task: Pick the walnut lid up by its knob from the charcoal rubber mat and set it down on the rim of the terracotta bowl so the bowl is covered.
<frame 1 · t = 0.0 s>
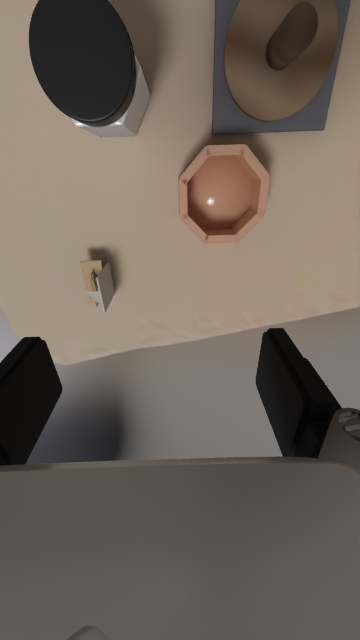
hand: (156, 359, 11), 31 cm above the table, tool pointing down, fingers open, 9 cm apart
architectural model: (107, 277, 43), on the table
bowl: (217, 194, 36), on the table
jar: (113, 97, 31), on the table
lid: (277, 54, 28), point 1 cm above the table, touching mat
mat: (275, 56, 29), on the table
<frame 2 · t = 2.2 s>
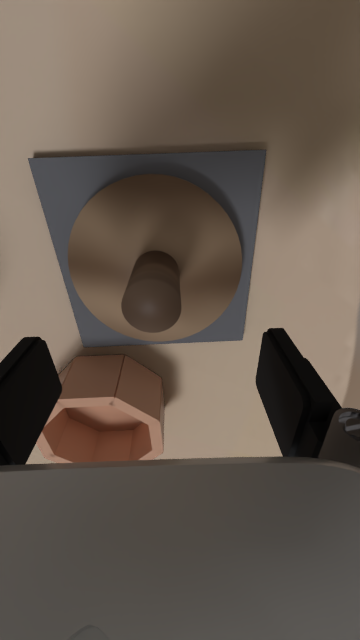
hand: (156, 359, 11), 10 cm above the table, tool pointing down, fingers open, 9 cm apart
bowl: (110, 395, 26), on the table
lid: (157, 267, 19), point 1 cm above the table, touching mat
mat: (157, 265, 19), on the table
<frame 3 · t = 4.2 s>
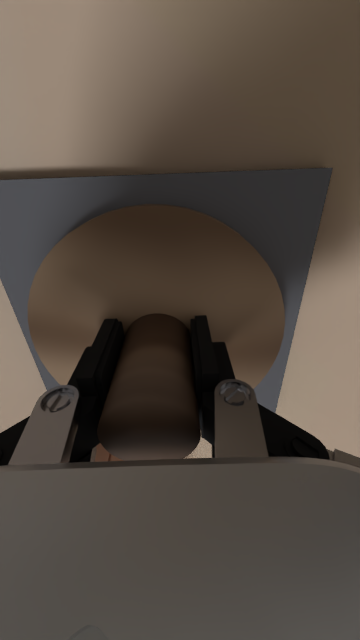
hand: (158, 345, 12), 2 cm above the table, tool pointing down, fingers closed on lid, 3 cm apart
lid: (159, 331, 13), point 1 cm above the table, touching gripper, mat
mat: (160, 325, 14), on the table
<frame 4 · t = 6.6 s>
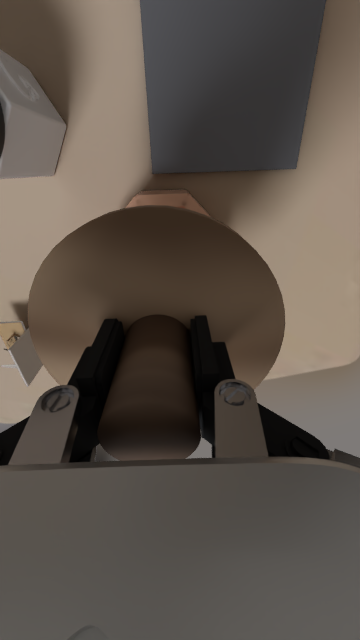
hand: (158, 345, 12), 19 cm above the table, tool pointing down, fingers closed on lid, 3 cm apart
architectural model: (41, 332, 35), on the table
bowl: (166, 244, 29), on the table
jar: (19, 127, 23), on the table
lid: (159, 332, 13), point 18 cm above the table, touching gripper
mat: (228, 76, 22), on the table
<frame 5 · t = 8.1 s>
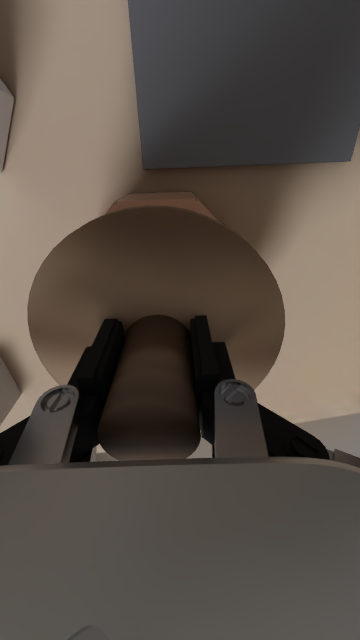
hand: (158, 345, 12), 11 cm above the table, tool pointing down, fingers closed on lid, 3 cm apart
architectural model: (6, 373, 28), on the table
bowl: (164, 265, 21), on the table
lid: (159, 332, 13), point 10 cm above the table, touching gripper
mat: (257, 17, 14), on the table
when the fingers open (8 cm above the table, at t = 9.4 s): lid drops 1 cm, resting on bowl.
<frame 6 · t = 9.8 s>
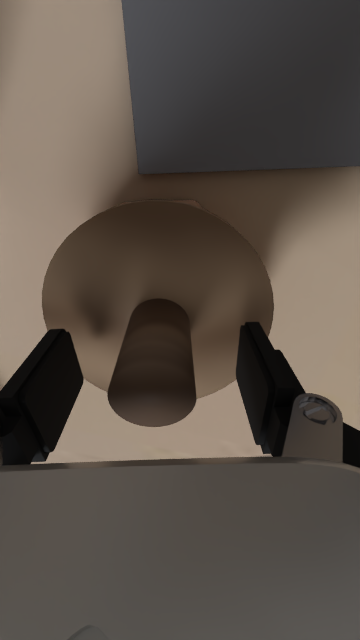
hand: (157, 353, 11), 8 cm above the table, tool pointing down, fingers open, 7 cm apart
lid: (160, 316, 14), point 5 cm above the table, touching bowl
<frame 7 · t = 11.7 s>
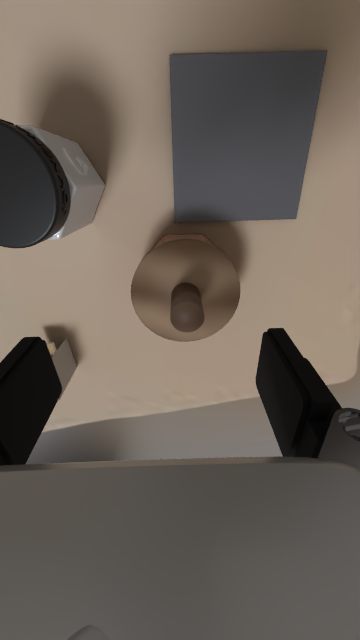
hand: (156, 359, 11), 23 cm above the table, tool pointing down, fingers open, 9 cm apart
architectural model: (67, 351, 39), on the table
jar: (65, 185, 28), on the table
lid: (185, 292, 29), point 5 cm above the table, touching bowl
mat: (239, 148, 26), on the table
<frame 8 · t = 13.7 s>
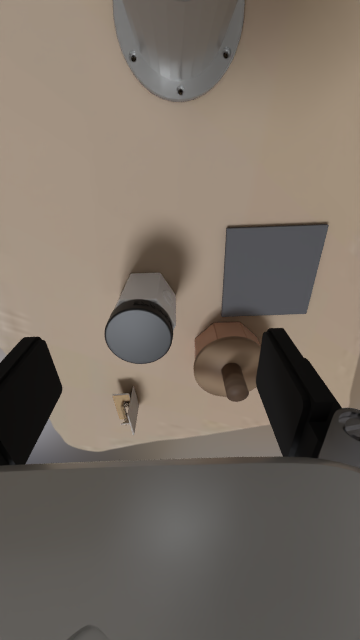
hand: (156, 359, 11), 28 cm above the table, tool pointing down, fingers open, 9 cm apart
architectural model: (132, 394, 53), on the table
bowl: (224, 348, 46), on the table
jar: (147, 295, 41), on the table
lid: (229, 366, 42), point 5 cm above the table, touching bowl
mat: (269, 273, 39), on the table
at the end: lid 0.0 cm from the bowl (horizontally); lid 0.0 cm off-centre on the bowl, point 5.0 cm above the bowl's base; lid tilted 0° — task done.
